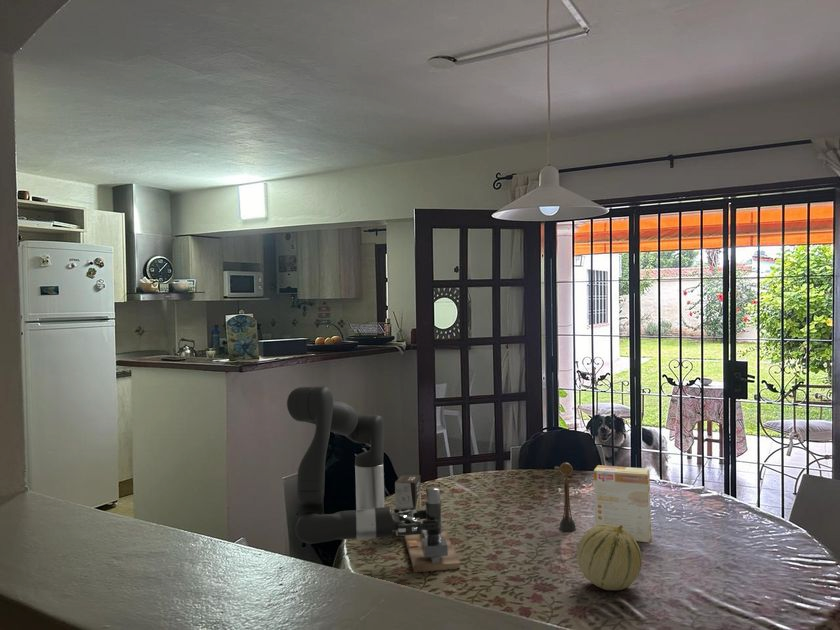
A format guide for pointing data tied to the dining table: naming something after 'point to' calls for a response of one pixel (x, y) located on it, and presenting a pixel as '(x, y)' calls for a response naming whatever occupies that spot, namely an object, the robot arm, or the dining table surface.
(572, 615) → the dining table surface
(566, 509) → the wooden tabletop sculpture
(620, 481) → the coffeecake box
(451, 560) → the press bench
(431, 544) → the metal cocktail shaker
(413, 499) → the coffee box
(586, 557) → the cantaloupe
